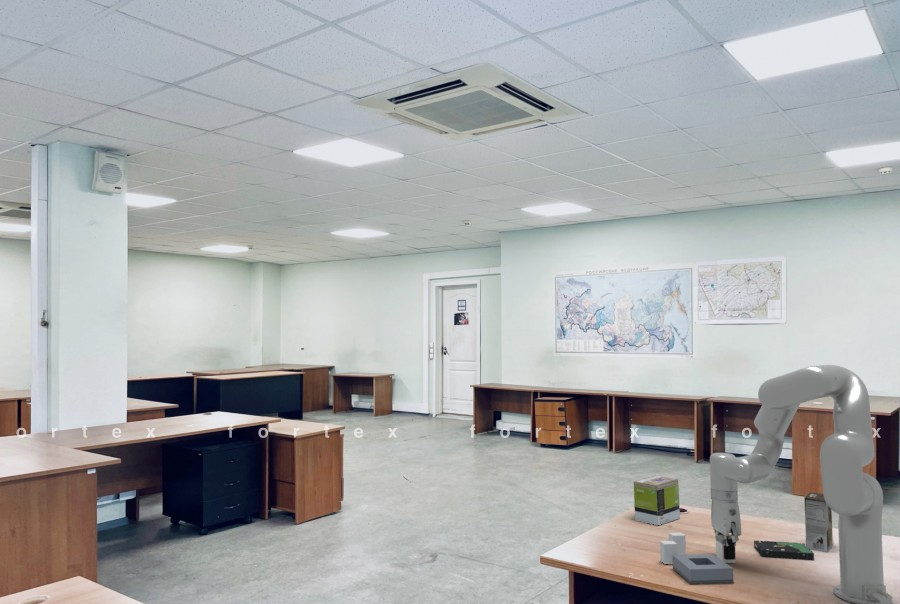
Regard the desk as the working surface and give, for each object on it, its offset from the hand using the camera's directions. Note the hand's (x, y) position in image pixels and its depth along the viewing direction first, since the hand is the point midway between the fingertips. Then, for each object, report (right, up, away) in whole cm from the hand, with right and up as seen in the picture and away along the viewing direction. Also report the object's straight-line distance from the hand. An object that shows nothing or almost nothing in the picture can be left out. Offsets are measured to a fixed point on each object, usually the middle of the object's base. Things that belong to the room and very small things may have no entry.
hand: (725, 555), depth 196 cm
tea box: (-6, -4, +44) cm, 45 cm away
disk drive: (+20, -2, +6) cm, 22 cm away
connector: (0, -1, 0) cm, 1 cm away
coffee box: (+35, -2, +12) cm, 37 cm away
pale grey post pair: (-15, -1, +2) cm, 15 cm away
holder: (-12, -1, -13) cm, 18 cm away
